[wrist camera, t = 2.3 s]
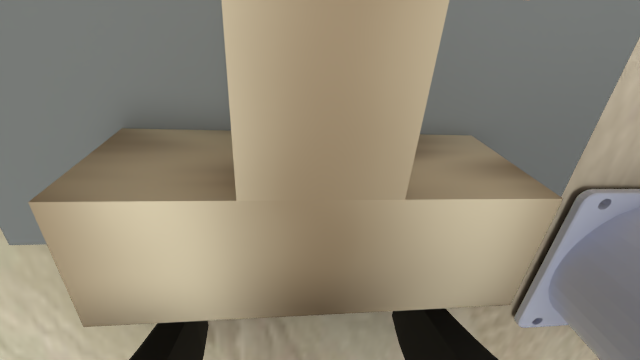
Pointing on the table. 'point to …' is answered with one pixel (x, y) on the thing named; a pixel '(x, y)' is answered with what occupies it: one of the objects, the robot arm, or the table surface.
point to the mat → (212, 86)
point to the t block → (299, 186)
